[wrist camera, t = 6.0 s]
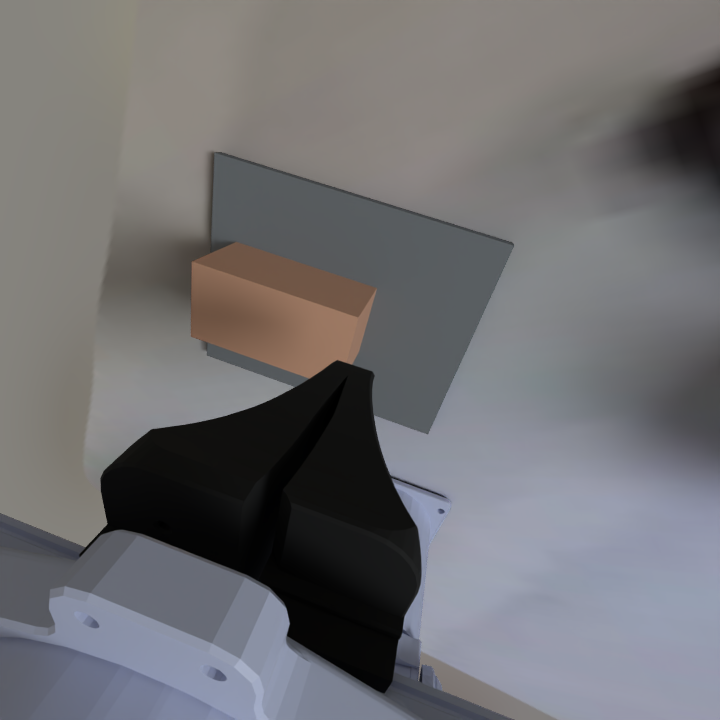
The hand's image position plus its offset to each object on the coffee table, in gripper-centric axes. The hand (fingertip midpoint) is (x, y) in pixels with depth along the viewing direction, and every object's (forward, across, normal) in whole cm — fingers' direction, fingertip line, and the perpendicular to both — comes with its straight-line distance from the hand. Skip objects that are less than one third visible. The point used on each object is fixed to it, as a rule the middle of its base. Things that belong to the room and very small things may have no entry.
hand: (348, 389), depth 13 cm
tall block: (+7, +1, +2) cm, 7 cm away
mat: (+9, +3, +2) cm, 10 cm away
